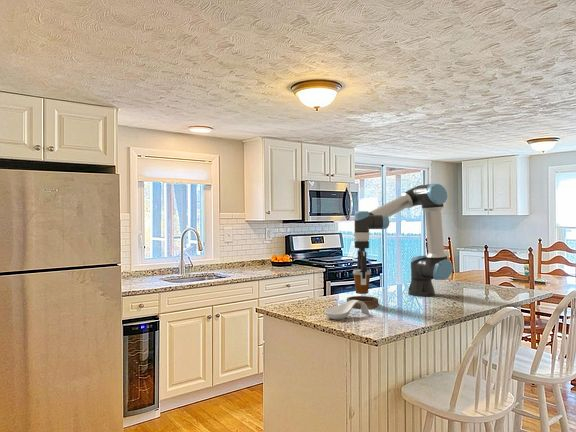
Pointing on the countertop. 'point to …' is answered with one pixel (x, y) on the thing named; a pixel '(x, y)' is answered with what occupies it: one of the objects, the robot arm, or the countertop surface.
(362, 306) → the spoon rest
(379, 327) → the countertop surface
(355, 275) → the disposable coffee cup
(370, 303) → the brown round dish
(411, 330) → the countertop surface
